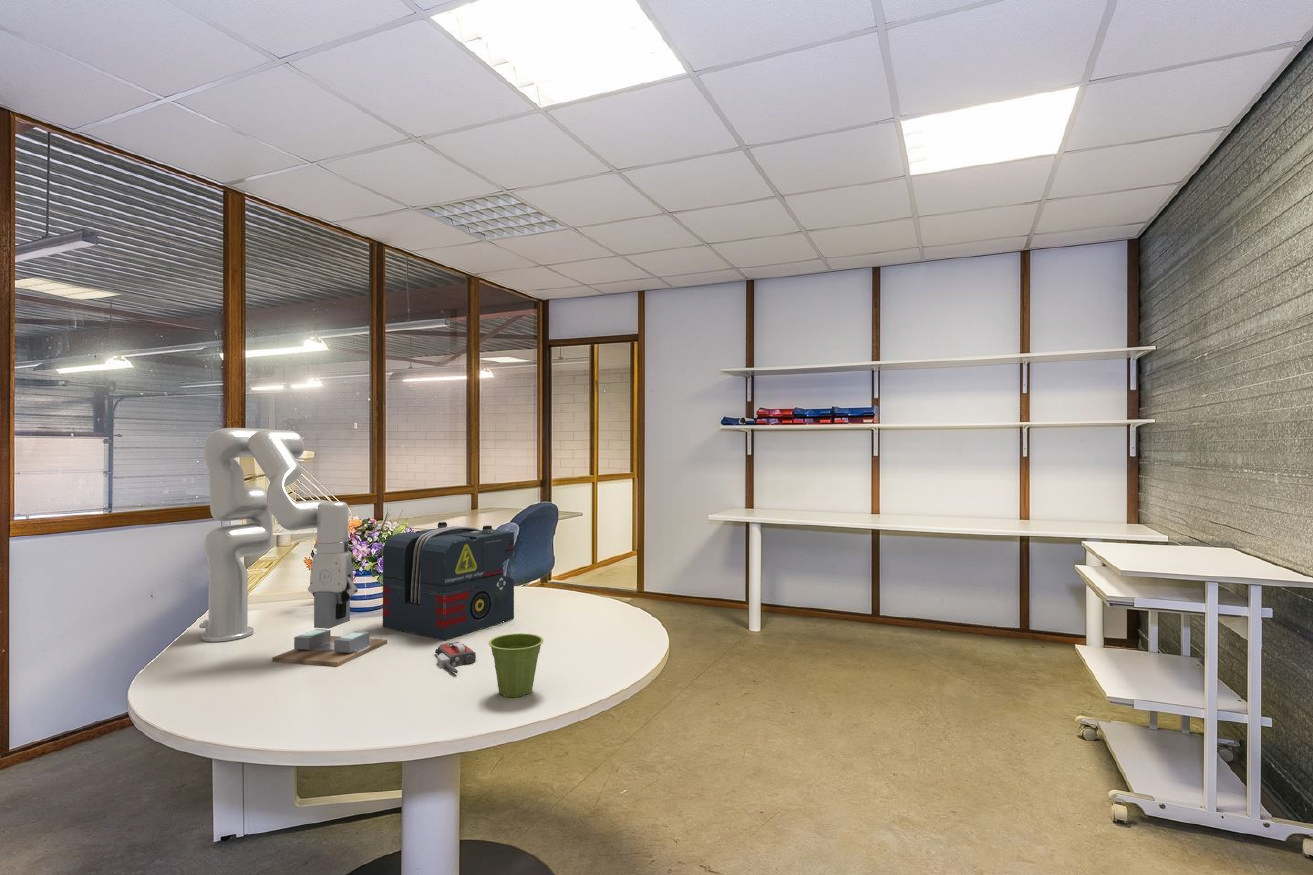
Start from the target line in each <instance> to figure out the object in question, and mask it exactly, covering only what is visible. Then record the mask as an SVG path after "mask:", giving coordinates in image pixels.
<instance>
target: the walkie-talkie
mask: <svg viewBox="0 0 1313 875" xmlns="http://www.w3.org/2000/svg"><path fill="white" fill-rule="evenodd" d="M434 652H435V654H436V655H437V659H436V660H437V664H436V665H438V666H439V667H440V669H443V668H447V669H448V670H449V671H451V672H453V673H454V674H458V672H459V671H458V670H457V668H455V667H457V666H461V665H466V664H469V665H470V664H472V663H476V661H477V660H476V658H477V657H476V653H477V652H476V651H474V650H473V649H471V648H470V647H469V646H468V645H465V643H462V642H460V641H458V640H455V641H450V642H447V643H441V644H440V645H438V647H437V648H436V649H435V651H434Z"/></svg>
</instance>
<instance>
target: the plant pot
mask: <svg viewBox="0 0 1313 875" xmlns="http://www.w3.org/2000/svg"><path fill="white" fill-rule="evenodd" d="M543 643H544V638H543V637H542V636H540V635H537V634H532V633H522V632H521V633H507V634H502V635H498V636H495V637H493V638H491V639H490V640H488V645H489V647H491V648H490V649H491V654H492V657H493V662H494V668H495V673H496V674H495V675H496V680H497V681H496V682H497V688H498V693H499V694H500V695H502V696H504V697H507V698H519V697H522V696H524V695H529V694H530V693H532V692H533V688H534V683H535V682H534V680H535V676H536V670H537V663H538V657H539V655H540V653H541V652H540V651H541V646H542V644H543Z"/></svg>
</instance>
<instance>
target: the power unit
mask: <svg viewBox="0 0 1313 875" xmlns="http://www.w3.org/2000/svg"><path fill="white" fill-rule="evenodd" d="M514 555H515V532H514V531H513V530H504V531H503V530H502V531H501V530H499V529H493V527H492V525H490V524H487V525H483V527H482V528H481V529H479V528H476V527H470V526H459V525H458V526H455V525H453V526H448V523H447V521H438V523H437V528H430V529H424V530H415V532H413V531H408V532H407V531H406V532H401V533H395V534H392V535H391V536H389V538H387V539H386V541H385V542H384V545H383V549H382V627H383V628H386V629H390V630H394V631H399V632H402V633H403V632H404V633H409V634H412V635H413V634H414V635H417V636H422V637H426V638H432V639H435V640H441V641H446V640H450V639H454V638H457V637H459V636H463V635H467V634H469V633H473V632H476V631H480V630H483V629H486V628H489V626H490V627H493V626H495V624H496V625H499V624H501V623H500V622H502V623H504V622H503V621H506V622H509V621H512V620H514V618H515V579H514V578H513V577H511V576H507V575H504V563H505V562H506V561H507V560H509V559H510V558H512V557H514ZM511 619H512V620H511ZM508 620H509V621H508ZM498 623H499V624H498ZM492 625H493V626H492Z"/></svg>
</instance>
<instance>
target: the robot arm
mask: <svg viewBox="0 0 1313 875" xmlns="http://www.w3.org/2000/svg"><path fill="white" fill-rule="evenodd" d="M203 448H204V449H203V450H204V452H203V453H204V459H205V462H206V467H207V471H208V475H209V476H208V477H209V480H208V481H209V483H208V484H209V508H210V510H209V511H210V515H211V517H212V518H213V519H215V520H216V521H220V522H230V521H240V520H246V523H243V524H231V525H225V526H219V527H216V528H214V529H212V530H210V531H209V532H208V533H207V534H206V536H205V538H204V551H205V556H206V561H207V568H208V572H207V573H208V619H205V620H204V619H203V622H201V623H199V625H198V627H199V629H205V632H203V633H202V634H201V640H202V641H203V642H208V643H209V642H211V643H212V642H214V643H215V642H227V641H228V642H229V641H235V640H240V639H243V638H246V637H249V636H251V635H253V634H254V633H255V632H254V631H255V630H254V627H251V626H248V610H249V608H248V607H249V606H248V602H249V599H248V596H249V594H248V593H249V589H248V588H249V583H248V582H249V580H248V579H249V578H248V577H249V576H248V575H249V574H248V570H247V568H246V566H245V564H244V563H243V562H242V559H241V558H244V557H249V556H257V555H261V554H264V553H267V551H269V549H270V548H271V546H272V543H273V538H274V536H273V534H274V533H273V532H274V531H273V529H274V528H273V518H274V520H275V521H276V522H277V524H278V525H279V526H280V527H282V528H283V529H285V530H287V531H301V530H302V531H303V530H309V529H316V543H314V544H313V548H314V549H316V553H314V555H313V558H312V561H311V567H310V577H309V582H310V583H309V586H308V588H307V591H308V592H309V593H310V594H311V595H312V596H313V597H314V593H316V592H333V593H336V595H337V600H338V604H336V619H341V618H344V617H346V602H348V601H349V599H350V600H351V598H352V597H353V596H354V595H355V594H357V593H358V587H357V586H356V585H355V583H354V571H353V569H354V567H353V562H352V557H351V553H350V552H349V506H348V503H346V502H345V501H331V500H326V499H314V500H313V499H311V500H310V499H309V500H298V501H297V500H296V501H293V500H292V499H291V498H292V497H290V495H289V494H288V492H287V490H286V487H289V486H290V485H291V484H294V483H295V482H296V481H297V480H298V479H299V478H300V477H301V475H302V472H303V468H302V466H301V465H300V463H299V462H298V460H297V459H298V458H300V457H301V456H302V455H303V453H304V451H305V443H304V439H303V438H302V436H301V435H300V434H299V433H297V432H296V431H293V430H288V429H287V430H286V429H283V430H281V429H271V428H252V427H251V428H250V427H249V428H248V427H224V428H219V429H216V430H213V431H212V432H211V433H210V434H209V435H208V436H207V438H206V440H205V443H204V447H203ZM236 458H254V460H255V462H256V463H257V465H258V466H259V467H260V469H261V470H262V472H263V473H264V475H265V477H266V478H267V479H268V481H269V484H268V486H267V490H266V489H264V488H263V487H260V486H246V485H245V472H244V470H243V467H242V466H241V464H240V463H239V461H237V459H236ZM347 590H349V592H348V593H347ZM341 593H342V594H341ZM342 595H343V597H342Z"/></svg>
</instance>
